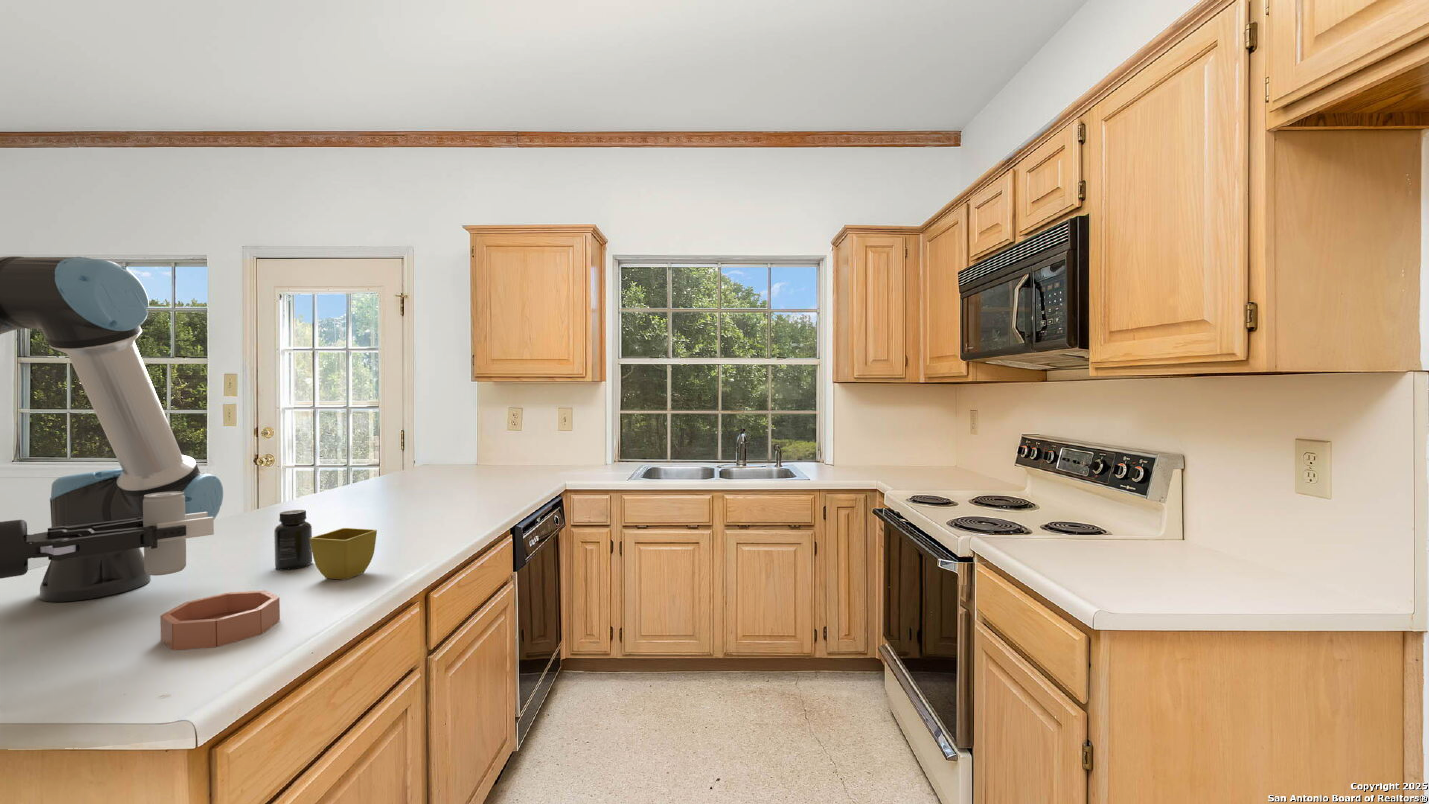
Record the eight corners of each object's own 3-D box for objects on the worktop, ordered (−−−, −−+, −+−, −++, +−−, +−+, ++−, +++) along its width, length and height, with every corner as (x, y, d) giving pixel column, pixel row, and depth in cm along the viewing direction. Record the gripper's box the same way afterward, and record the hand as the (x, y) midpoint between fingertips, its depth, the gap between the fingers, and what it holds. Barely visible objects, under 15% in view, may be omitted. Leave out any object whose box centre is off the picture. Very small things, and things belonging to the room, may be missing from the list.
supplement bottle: (319, 563, 136) (319, 509, 136) (289, 571, 130) (288, 516, 129) (297, 560, 138) (296, 507, 138) (267, 568, 132) (266, 513, 132)
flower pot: (346, 584, 122) (345, 539, 121) (309, 581, 123) (308, 537, 123) (378, 571, 130) (378, 529, 130) (343, 568, 132) (343, 527, 132)
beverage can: (162, 567, 96) (160, 491, 95) (194, 566, 96) (193, 491, 96) (135, 576, 91) (133, 496, 91) (169, 576, 91) (167, 496, 91)
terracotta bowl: (141, 652, 91) (140, 625, 91) (201, 617, 104) (200, 594, 104) (246, 644, 93) (246, 619, 93) (292, 611, 107) (291, 589, 107)
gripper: (-12, 566, 86) (201, 536, 103) (-23, 596, 74) (221, 556, 91) (-14, 514, 86) (200, 492, 103) (-25, 535, 74) (220, 507, 91)
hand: (209, 522), depth 97 cm, fingers closed on beverage can, 5 cm apart
